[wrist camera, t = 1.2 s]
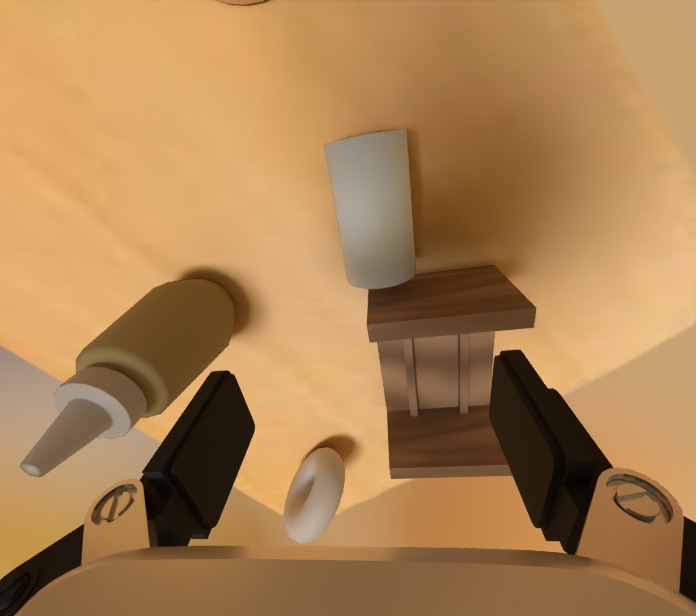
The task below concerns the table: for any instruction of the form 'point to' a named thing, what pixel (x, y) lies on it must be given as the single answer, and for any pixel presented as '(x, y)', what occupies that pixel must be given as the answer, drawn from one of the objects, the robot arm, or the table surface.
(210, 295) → the squeeze bottle
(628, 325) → the table surface
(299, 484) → the donut
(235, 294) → the table surface
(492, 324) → the cradle
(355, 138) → the roll
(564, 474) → the robot arm
